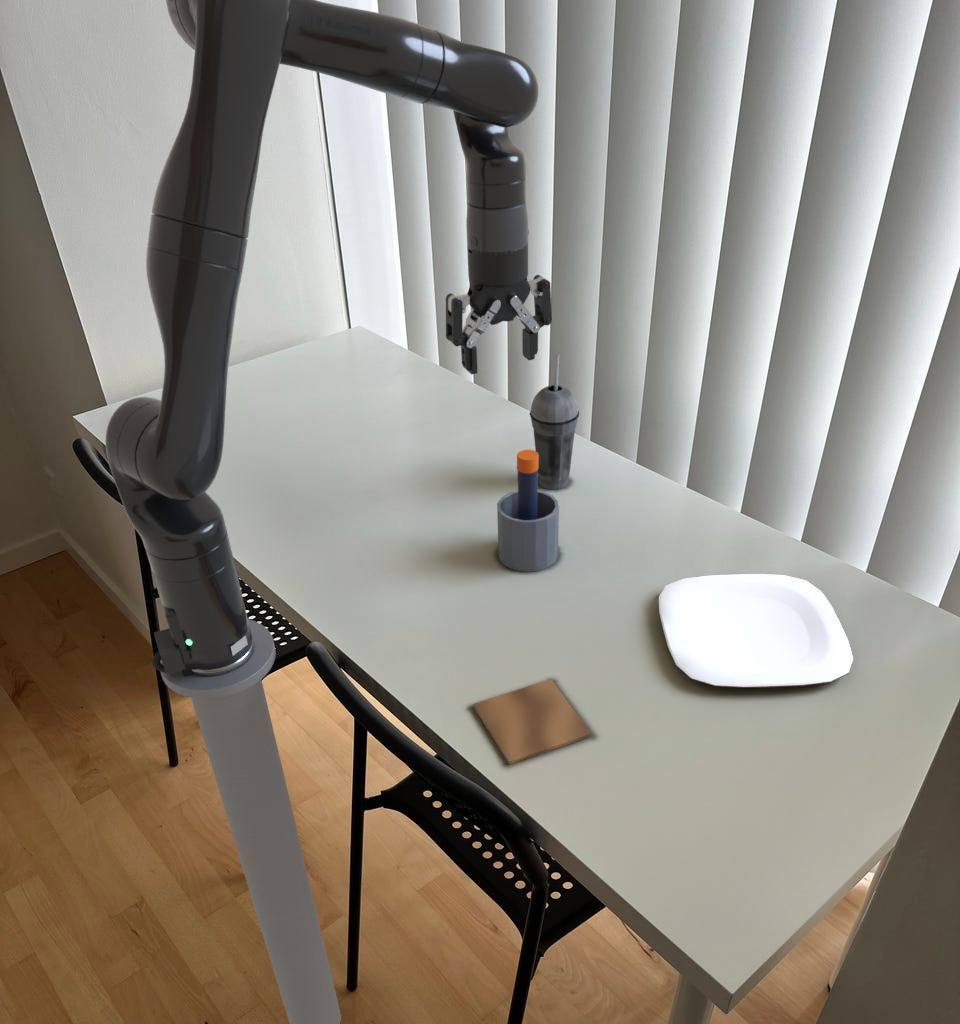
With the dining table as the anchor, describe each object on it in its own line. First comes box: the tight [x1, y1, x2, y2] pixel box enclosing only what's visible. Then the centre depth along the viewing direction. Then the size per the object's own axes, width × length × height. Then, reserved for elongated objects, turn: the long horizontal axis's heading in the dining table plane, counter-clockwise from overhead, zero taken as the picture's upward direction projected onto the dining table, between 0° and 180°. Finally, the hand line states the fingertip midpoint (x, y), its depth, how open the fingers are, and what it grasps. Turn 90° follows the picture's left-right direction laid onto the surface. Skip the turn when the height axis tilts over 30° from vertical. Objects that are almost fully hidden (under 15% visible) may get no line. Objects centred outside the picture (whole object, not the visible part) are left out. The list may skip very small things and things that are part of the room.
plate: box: [658, 573, 854, 689], centre depth 120 cm, size 22×22×2 cm
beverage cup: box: [529, 354, 580, 490], centre depth 145 cm, size 7×7×20 cm
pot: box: [496, 489, 560, 573], centre depth 134 cm, size 8×8×8 cm
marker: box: [516, 449, 539, 520], centre depth 131 cm, size 3×3×15 cm
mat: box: [472, 678, 592, 765], centre depth 111 cm, size 10×10×1 cm
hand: (500, 364), depth 131 cm, fingers open, 8 cm apart
